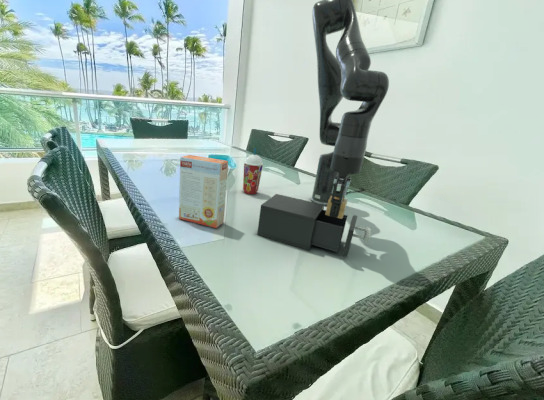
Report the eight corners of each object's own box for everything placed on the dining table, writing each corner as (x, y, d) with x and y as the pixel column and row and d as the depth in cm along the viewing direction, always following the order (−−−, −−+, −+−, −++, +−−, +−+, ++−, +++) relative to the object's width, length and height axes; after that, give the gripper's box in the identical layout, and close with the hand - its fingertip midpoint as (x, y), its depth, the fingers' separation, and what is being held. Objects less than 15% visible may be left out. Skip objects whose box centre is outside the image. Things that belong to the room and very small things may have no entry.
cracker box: (224, 222, 90) (229, 160, 83) (216, 229, 85) (220, 163, 78) (187, 213, 95) (190, 153, 88) (178, 219, 90) (179, 156, 83)
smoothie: (263, 193, 124) (268, 149, 117) (251, 196, 118) (257, 150, 111) (248, 188, 129) (253, 146, 122) (237, 191, 123) (241, 147, 116)
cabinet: (318, 232, 88) (324, 204, 85) (309, 250, 76) (315, 218, 73) (272, 220, 95) (276, 193, 92) (257, 234, 83) (260, 204, 80)
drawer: (366, 243, 81) (373, 219, 78) (364, 262, 70) (372, 235, 68) (303, 226, 89) (307, 204, 87) (293, 241, 79) (297, 216, 76)
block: (327, 210, 80) (331, 195, 79) (344, 214, 78) (347, 199, 77) (325, 214, 76) (328, 199, 75) (342, 219, 74) (345, 203, 73)
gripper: (337, 148, 79) (325, 203, 85) (329, 154, 67) (316, 218, 73) (365, 152, 76) (351, 209, 81) (362, 159, 64) (346, 225, 69)
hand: (334, 213), depth 77 cm, fingers closed on block, 4 cm apart
